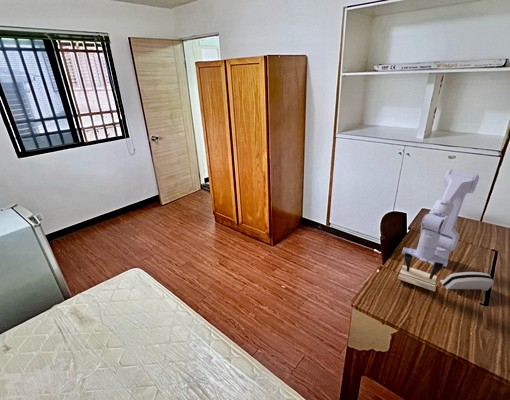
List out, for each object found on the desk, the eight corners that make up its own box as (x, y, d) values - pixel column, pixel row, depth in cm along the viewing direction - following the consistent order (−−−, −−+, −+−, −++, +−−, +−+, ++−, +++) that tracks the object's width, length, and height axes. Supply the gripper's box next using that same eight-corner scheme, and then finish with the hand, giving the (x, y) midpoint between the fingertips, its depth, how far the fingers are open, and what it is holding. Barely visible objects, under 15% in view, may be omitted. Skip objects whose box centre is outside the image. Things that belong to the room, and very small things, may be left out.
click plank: (398, 276, 116) (399, 273, 116) (434, 288, 109) (435, 285, 109) (397, 278, 110) (398, 275, 110) (435, 291, 103) (435, 288, 103)
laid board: (402, 267, 122) (402, 264, 121) (435, 278, 115) (436, 275, 114) (399, 275, 117) (399, 273, 116) (434, 287, 110) (435, 285, 109)
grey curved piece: (478, 281, 112) (492, 269, 105) (485, 292, 109) (500, 280, 102) (437, 281, 113) (448, 269, 106) (442, 292, 110) (454, 280, 103)
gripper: (403, 243, 100) (396, 272, 106) (450, 256, 93) (440, 287, 99) (406, 235, 106) (399, 263, 111) (451, 246, 98) (441, 276, 104)
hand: (419, 273), depth 105 cm, fingers open, 7 cm apart
